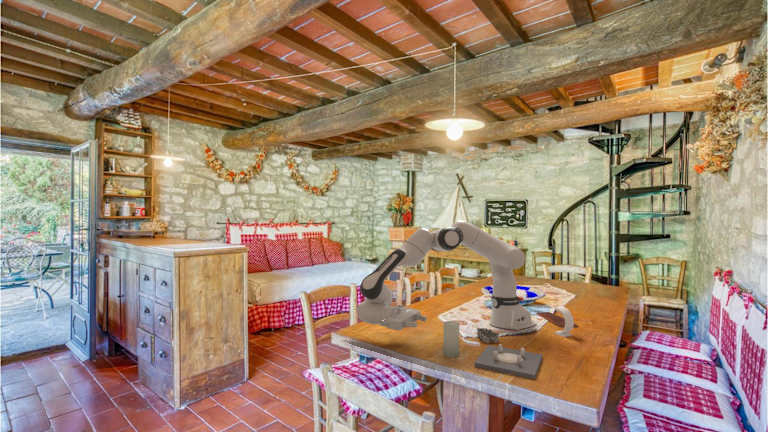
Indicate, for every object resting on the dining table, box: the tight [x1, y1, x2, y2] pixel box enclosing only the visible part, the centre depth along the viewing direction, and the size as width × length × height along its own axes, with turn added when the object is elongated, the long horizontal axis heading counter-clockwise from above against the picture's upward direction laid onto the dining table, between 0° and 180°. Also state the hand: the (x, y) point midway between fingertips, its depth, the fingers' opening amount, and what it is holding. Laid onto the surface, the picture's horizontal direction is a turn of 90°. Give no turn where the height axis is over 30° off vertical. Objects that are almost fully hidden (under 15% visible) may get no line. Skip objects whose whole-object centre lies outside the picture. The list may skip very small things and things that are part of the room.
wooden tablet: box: [536, 311, 579, 329], centre depth 186 cm, size 27×10×2 cm, turn 4°
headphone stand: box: [554, 305, 575, 338], centre depth 163 cm, size 5×6×12 cm
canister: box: [442, 320, 460, 359], centre depth 140 cm, size 6×6×12 cm
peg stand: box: [474, 343, 543, 380], centre depth 133 cm, size 20×20×4 cm
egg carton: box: [476, 327, 500, 344], centre depth 158 cm, size 11×8×4 cm
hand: (421, 322), depth 146 cm, fingers open, 8 cm apart
